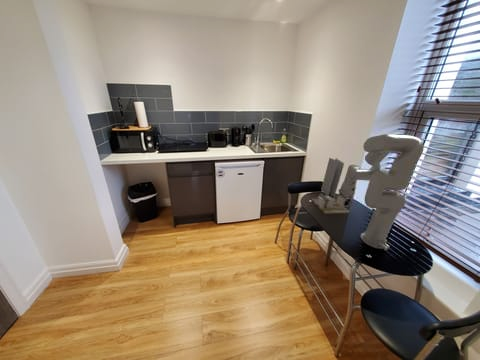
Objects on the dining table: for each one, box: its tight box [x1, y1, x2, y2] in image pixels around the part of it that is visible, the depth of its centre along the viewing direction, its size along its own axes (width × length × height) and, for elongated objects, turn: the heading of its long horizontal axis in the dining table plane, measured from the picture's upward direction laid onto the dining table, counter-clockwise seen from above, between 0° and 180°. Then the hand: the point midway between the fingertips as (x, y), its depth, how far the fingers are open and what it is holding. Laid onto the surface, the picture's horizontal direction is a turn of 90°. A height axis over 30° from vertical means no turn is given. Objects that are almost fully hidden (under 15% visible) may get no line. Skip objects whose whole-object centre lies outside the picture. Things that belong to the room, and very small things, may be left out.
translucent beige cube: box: [336, 195, 351, 207], centre depth 142 cm, size 6×6×6 cm
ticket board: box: [311, 197, 350, 215], centre depth 141 cm, size 19×19×1 cm
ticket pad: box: [317, 193, 335, 209], centre depth 139 cm, size 10×9×7 cm
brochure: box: [321, 157, 345, 198], centre depth 156 cm, size 14×6×30 cm, turn 179°
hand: (343, 203), depth 143 cm, fingers closed on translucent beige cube, 6 cm apart
